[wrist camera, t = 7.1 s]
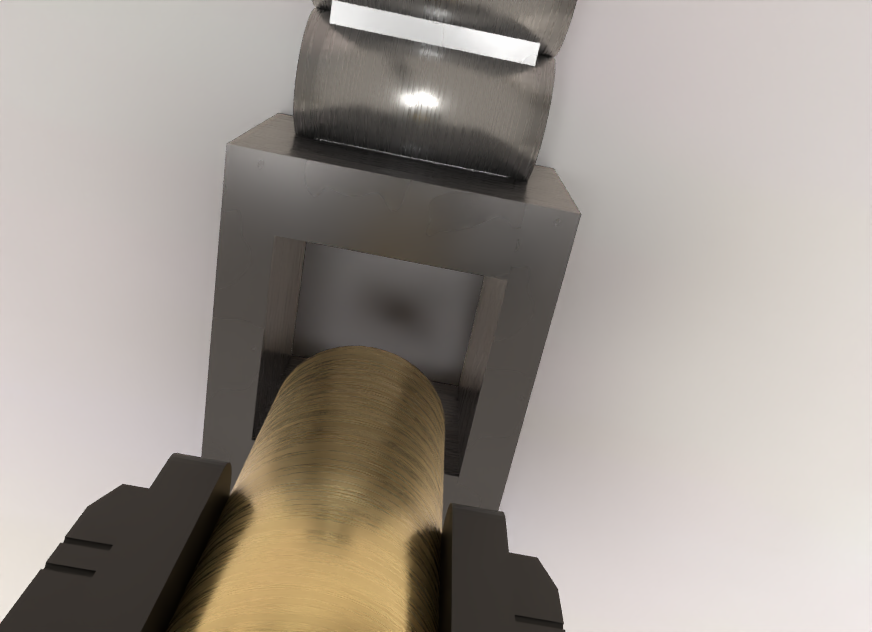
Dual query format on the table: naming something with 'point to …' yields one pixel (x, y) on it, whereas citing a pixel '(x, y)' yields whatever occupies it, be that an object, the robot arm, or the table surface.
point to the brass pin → (331, 508)
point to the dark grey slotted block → (401, 208)
